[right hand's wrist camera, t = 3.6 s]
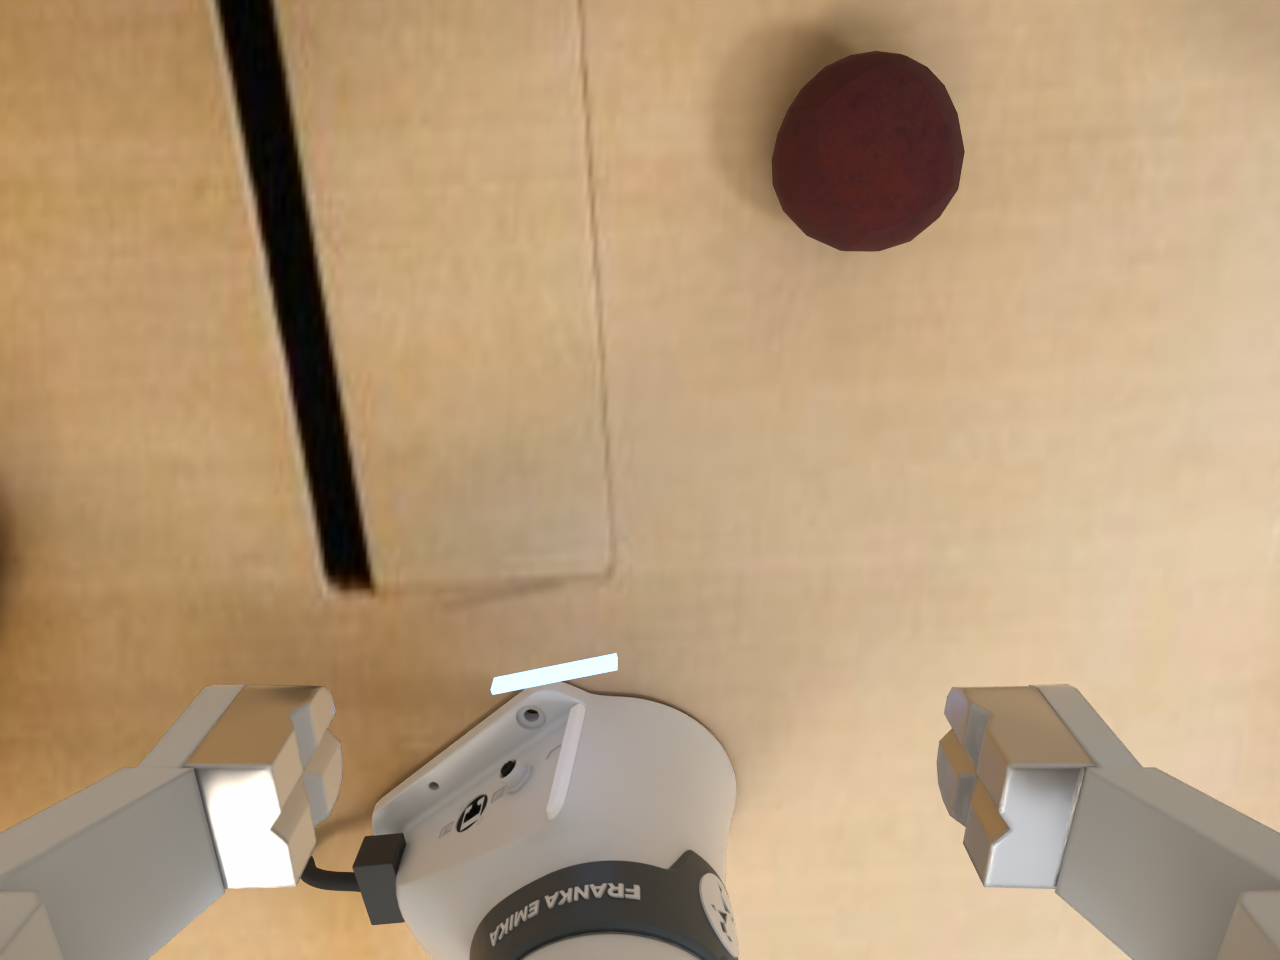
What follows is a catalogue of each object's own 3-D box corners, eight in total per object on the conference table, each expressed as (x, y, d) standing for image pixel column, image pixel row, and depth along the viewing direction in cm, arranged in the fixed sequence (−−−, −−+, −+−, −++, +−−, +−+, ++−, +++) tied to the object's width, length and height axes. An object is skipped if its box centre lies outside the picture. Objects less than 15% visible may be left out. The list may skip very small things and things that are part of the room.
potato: (882, 27, 34) (940, -5, 28) (954, 193, 37) (1023, 200, 30) (730, 125, 36) (751, 117, 29) (809, 278, 38) (845, 303, 32)
